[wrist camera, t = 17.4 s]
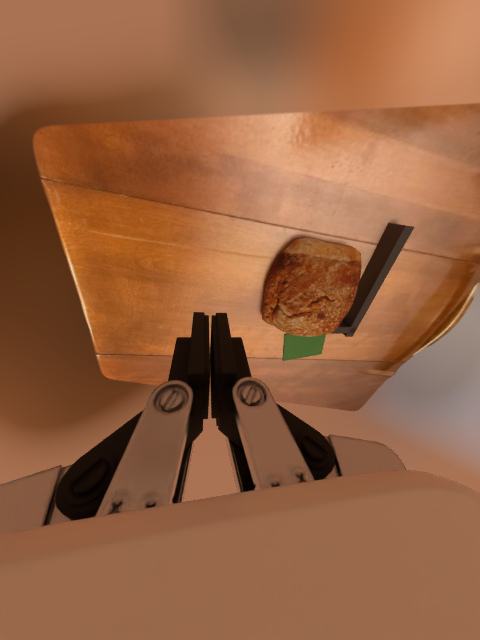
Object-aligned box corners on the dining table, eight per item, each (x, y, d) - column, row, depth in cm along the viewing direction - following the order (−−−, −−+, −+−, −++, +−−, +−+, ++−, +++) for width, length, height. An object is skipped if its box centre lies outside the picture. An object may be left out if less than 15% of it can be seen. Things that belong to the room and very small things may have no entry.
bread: (256, 313, 45) (268, 340, 37) (273, 231, 35) (294, 242, 27) (331, 316, 49) (356, 340, 41) (365, 242, 39) (408, 255, 31)
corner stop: (317, 212, 35) (328, 214, 31) (396, 224, 38) (414, 226, 35) (282, 327, 49) (288, 336, 45) (343, 327, 52) (352, 336, 49)
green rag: (284, 334, 50) (284, 334, 50) (326, 327, 51) (327, 327, 51) (282, 360, 56) (283, 360, 55) (320, 353, 57) (321, 354, 56)
